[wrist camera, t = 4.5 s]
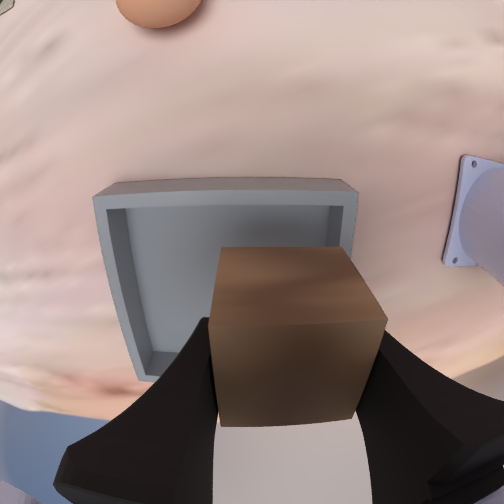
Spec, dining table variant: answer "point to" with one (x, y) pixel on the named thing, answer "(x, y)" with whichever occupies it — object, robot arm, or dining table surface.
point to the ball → (156, 11)
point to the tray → (201, 246)
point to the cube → (291, 335)
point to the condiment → (5, 5)
